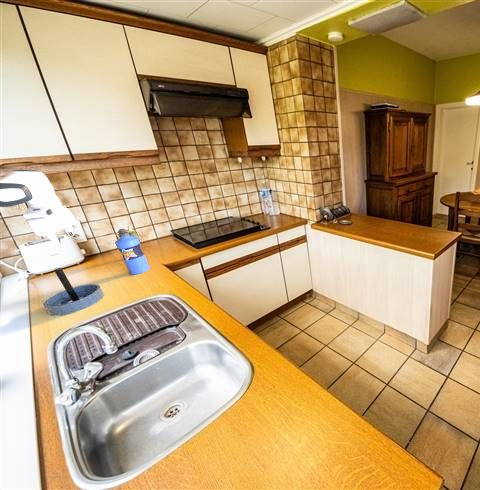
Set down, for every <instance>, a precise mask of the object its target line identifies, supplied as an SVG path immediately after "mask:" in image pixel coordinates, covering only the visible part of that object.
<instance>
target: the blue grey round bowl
mask: <svg viewBox="0 0 480 490" xmlns="http://www.w3.org/2000/svg"><path fill="white" fill-rule="evenodd" d="M73 289H74V291H75V292H76V294H77V296H78V297H84V298H82V299H80V300H77V301H74V302H71V303H68V302H69V301H71V298H70V296H69V295H68V293H67V291H66V290H65V289H64V290H63V291H60V292H58V293H56V294H53V295H52V296H50V297H48V298H47V299H46V300H45V301H44V302H43V303H42V305H43V308H44V309H45V311H46V312H47V314H48V315H49V316H53V317H58V316H65V315H69V314H73V313H76V312H79V311H83V310H84V309H87V308H89V307H91V306H94V305H95V304H97V303H98V302H100V301H101V300H102V299H103V297H105V294H104V292H103V290H102V288H101V286H100V285H99V284H96V283H90V284H83V285H79V286H74V287H73Z"/></svg>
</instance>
